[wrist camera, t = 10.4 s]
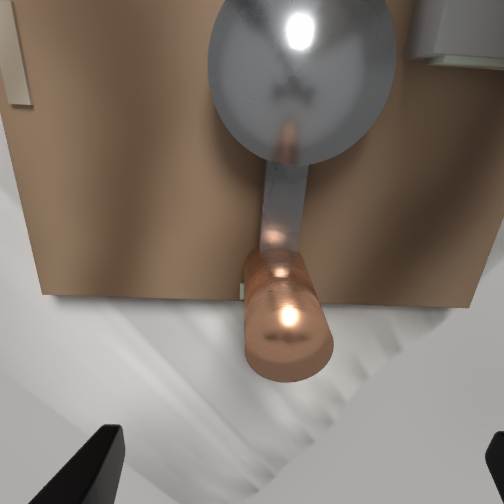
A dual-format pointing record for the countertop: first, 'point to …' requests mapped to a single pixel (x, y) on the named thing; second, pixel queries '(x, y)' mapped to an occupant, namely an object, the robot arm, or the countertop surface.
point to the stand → (246, 158)
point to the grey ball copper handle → (295, 145)
